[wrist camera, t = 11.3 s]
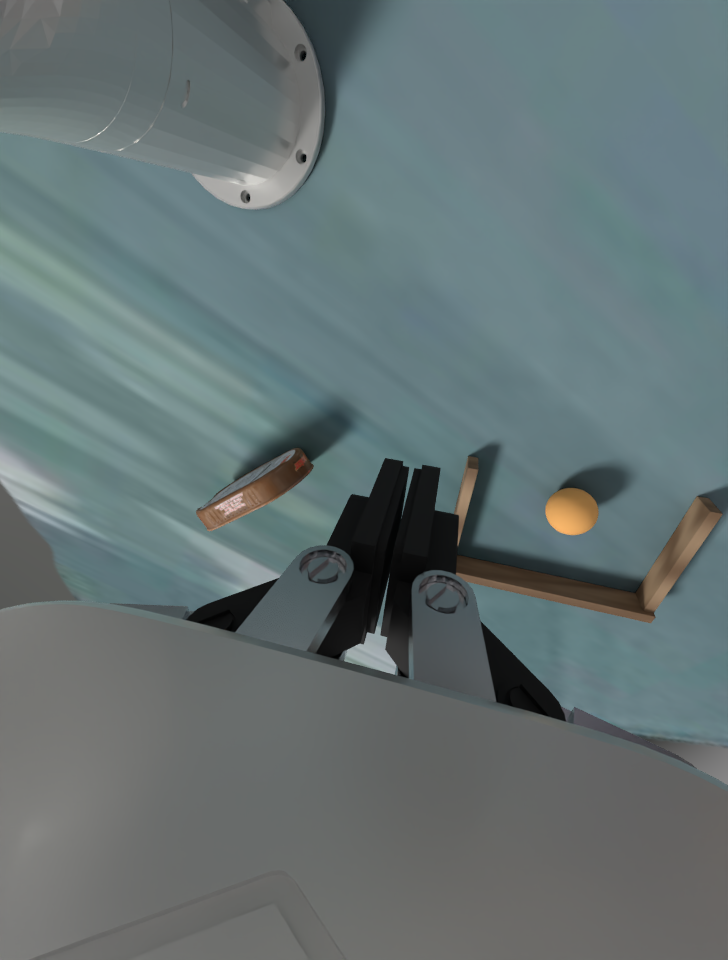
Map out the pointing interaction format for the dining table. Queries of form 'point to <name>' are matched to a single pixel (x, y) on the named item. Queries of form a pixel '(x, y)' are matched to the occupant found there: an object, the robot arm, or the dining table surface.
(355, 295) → the dining table surface
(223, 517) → the tin
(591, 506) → the ball
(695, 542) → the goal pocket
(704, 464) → the dining table surface
